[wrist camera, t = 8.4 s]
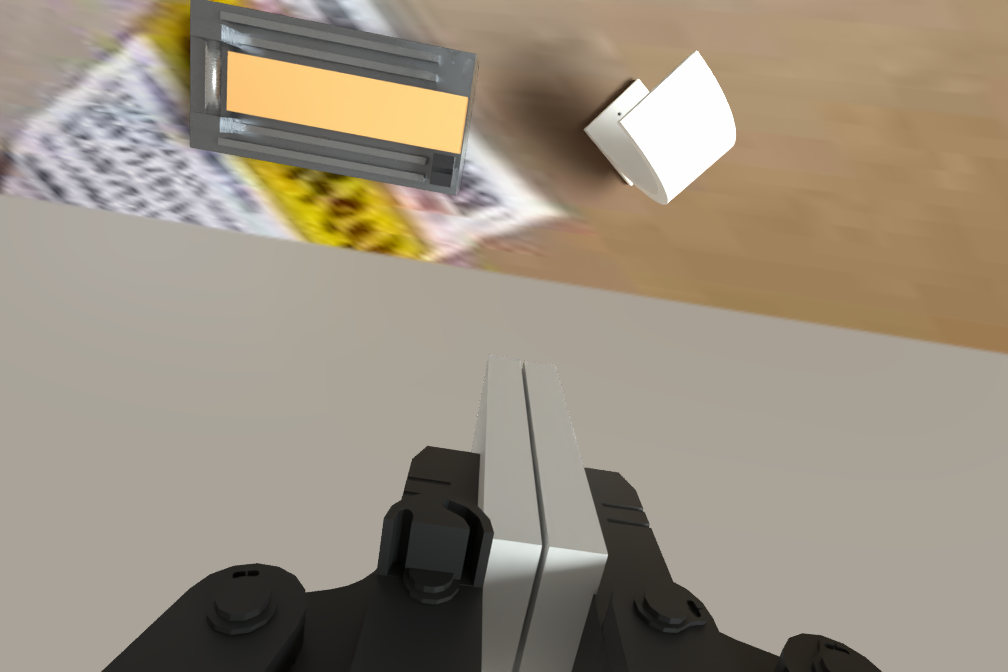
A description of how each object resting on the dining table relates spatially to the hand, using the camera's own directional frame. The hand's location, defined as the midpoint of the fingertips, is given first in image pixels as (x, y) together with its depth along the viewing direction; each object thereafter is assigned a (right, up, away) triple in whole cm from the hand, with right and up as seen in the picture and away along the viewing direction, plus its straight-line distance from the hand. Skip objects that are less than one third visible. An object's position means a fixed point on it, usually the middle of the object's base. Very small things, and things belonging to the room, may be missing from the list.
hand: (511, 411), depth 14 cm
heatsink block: (-10, +17, +24) cm, 31 cm away
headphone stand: (+9, +15, +25) cm, 31 cm away
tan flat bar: (-9, +15, +18) cm, 25 cm away
